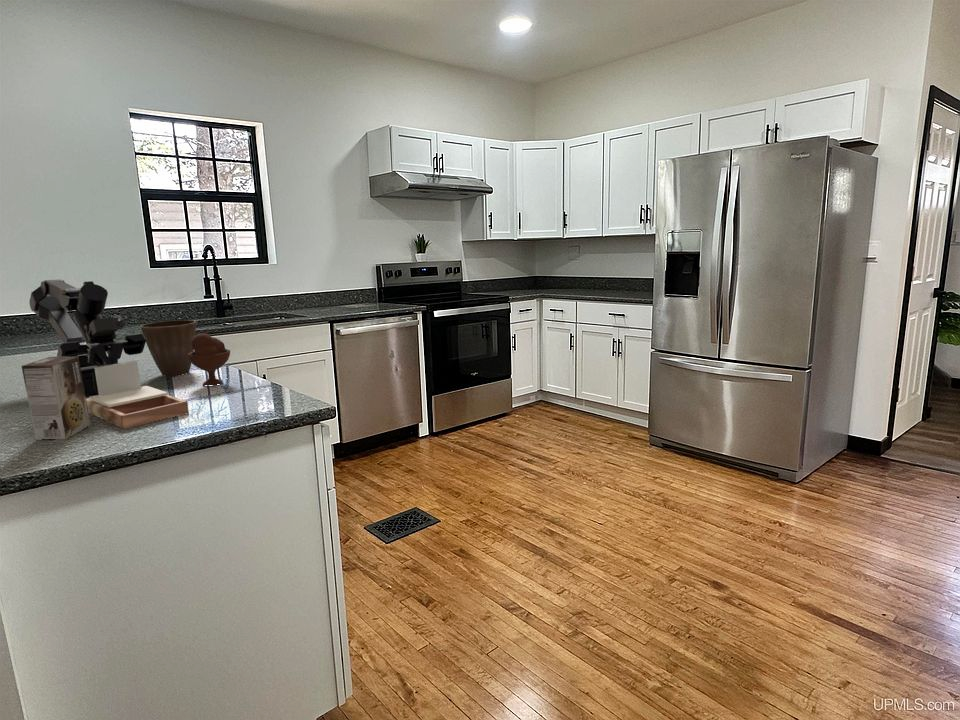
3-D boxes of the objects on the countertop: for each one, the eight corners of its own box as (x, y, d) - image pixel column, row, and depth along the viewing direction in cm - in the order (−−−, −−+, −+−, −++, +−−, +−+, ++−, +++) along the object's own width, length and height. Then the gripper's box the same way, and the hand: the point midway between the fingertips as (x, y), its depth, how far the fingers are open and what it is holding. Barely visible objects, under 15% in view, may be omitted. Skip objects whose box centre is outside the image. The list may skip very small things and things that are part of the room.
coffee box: (61, 426, 127) (49, 356, 123) (92, 425, 127) (80, 355, 124) (33, 440, 118) (19, 365, 114) (66, 439, 118) (53, 364, 115)
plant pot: (159, 382, 167) (151, 328, 163) (140, 375, 176) (132, 324, 173) (210, 372, 178) (204, 322, 174) (189, 366, 187) (183, 318, 184)
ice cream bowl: (218, 389, 156) (211, 336, 153) (182, 388, 159) (175, 335, 156) (241, 380, 167) (235, 330, 163) (207, 379, 169) (201, 329, 166)
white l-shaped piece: (89, 399, 136) (84, 368, 135) (146, 387, 146) (142, 359, 145) (108, 407, 129) (103, 375, 128) (167, 394, 139) (163, 364, 138)
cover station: (84, 410, 139) (82, 399, 138) (145, 397, 149) (144, 386, 149) (124, 429, 124) (122, 416, 123) (188, 413, 135) (187, 401, 134)
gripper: (52, 310, 133) (76, 361, 129) (137, 302, 147) (162, 348, 143) (47, 340, 140) (70, 389, 135) (130, 330, 154) (153, 374, 149)
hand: (116, 374), depth 140 cm, fingers closed, pressing on white l-shaped piece
